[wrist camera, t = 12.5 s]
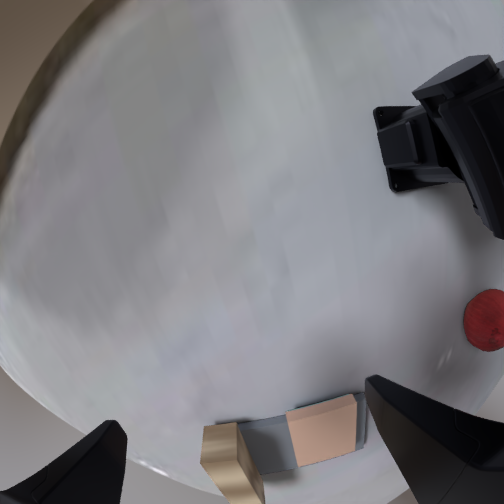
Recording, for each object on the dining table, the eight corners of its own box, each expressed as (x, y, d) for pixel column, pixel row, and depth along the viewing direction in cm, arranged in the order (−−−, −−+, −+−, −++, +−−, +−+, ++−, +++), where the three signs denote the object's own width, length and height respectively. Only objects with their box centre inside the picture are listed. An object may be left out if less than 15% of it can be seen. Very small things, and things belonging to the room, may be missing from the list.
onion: (466, 337, 22) (511, 372, 15) (440, 324, 22) (492, 363, 14) (490, 290, 21) (540, 316, 14) (467, 270, 21) (526, 297, 13)
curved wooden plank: (262, 480, 24) (266, 510, 19) (237, 483, 24) (238, 513, 19) (236, 422, 21) (236, 460, 17) (204, 426, 21) (200, 463, 17)
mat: (362, 392, 22) (366, 398, 22) (360, 442, 24) (363, 448, 23) (208, 427, 22) (208, 434, 21) (233, 471, 24) (233, 478, 23)
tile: (356, 402, 20) (355, 450, 21) (350, 391, 21) (350, 440, 23) (287, 422, 20) (298, 466, 21) (284, 409, 21) (295, 455, 23)
